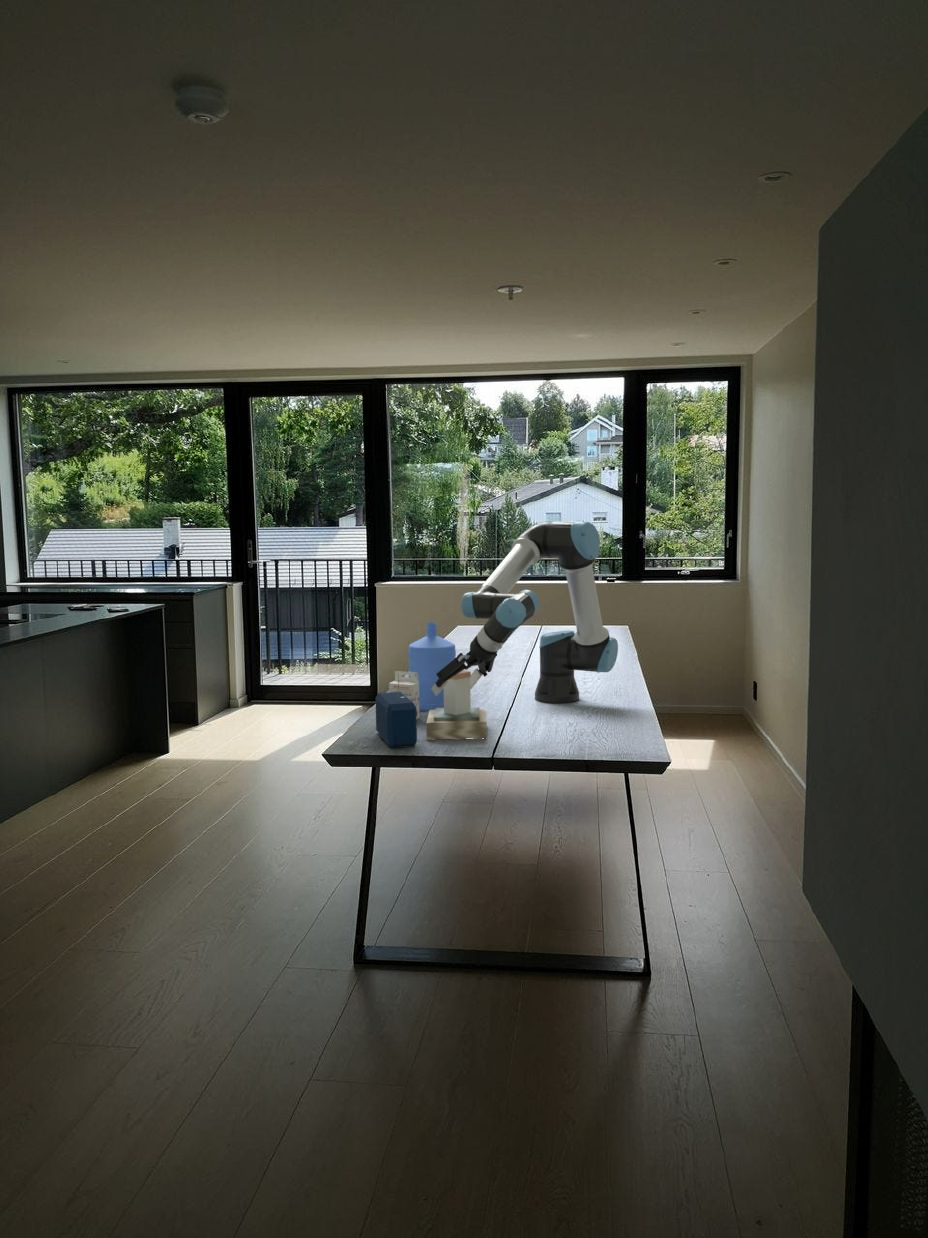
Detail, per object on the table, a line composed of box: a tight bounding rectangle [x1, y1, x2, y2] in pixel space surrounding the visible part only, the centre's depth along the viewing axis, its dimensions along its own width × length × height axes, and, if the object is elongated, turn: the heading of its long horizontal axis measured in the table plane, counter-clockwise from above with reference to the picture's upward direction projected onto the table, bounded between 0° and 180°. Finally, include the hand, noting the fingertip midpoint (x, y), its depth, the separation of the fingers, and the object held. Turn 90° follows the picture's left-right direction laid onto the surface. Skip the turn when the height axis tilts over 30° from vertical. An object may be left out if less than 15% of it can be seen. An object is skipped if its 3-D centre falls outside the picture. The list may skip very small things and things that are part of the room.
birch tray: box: [425, 706, 488, 741], centre depth 269 cm, size 17×17×6 cm
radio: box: [375, 676, 418, 749], centre depth 261 cm, size 21×9×20 cm, turn 17°
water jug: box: [407, 622, 457, 713], centre depth 303 cm, size 16×16×28 cm
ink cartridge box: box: [388, 670, 420, 720], centre depth 287 cm, size 9×5×15 cm, turn 71°
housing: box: [444, 669, 472, 715], centre depth 268 cm, size 5×6×12 cm
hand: (451, 688), depth 270 cm, fingers open, 13 cm apart
